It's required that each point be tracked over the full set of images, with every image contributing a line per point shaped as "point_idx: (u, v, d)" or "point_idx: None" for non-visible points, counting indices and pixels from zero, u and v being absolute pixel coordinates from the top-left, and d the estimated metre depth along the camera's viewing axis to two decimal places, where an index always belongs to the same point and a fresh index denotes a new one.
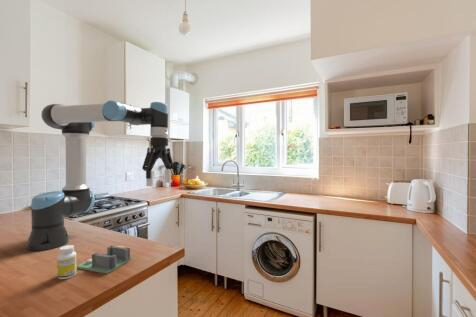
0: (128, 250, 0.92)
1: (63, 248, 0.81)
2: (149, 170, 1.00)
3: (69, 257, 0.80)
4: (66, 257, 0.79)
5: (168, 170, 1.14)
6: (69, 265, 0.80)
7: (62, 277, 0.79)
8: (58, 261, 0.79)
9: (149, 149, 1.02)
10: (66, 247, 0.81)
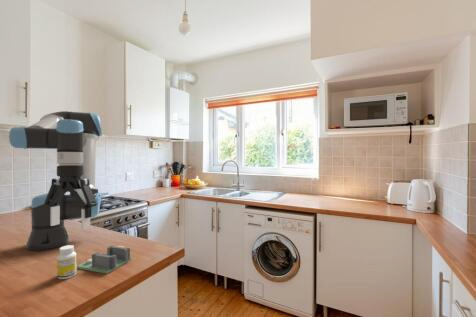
0: (128, 250, 0.92)
1: (63, 248, 0.81)
2: None
3: (69, 257, 0.80)
4: (66, 257, 0.79)
5: None
6: (69, 265, 0.80)
7: (62, 277, 0.79)
8: (58, 261, 0.79)
9: None
10: (66, 247, 0.81)
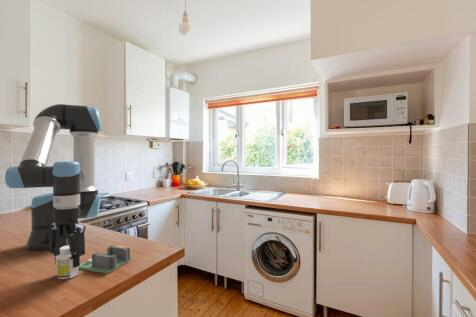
0: (128, 250, 0.92)
1: (63, 248, 0.81)
2: None
3: (69, 257, 0.80)
4: (66, 257, 0.79)
5: None
6: None
7: (62, 277, 0.79)
8: (58, 261, 0.79)
9: None
10: (66, 247, 0.81)
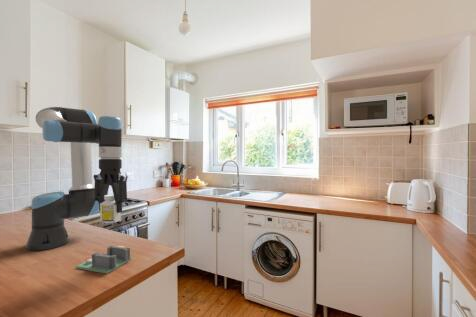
0: (128, 250, 0.92)
1: (107, 195, 0.88)
2: (99, 202, 0.90)
3: (113, 203, 0.88)
4: (110, 203, 0.87)
5: None
6: (113, 210, 0.88)
7: (107, 221, 0.87)
8: (103, 207, 0.87)
9: None
10: (109, 195, 0.89)
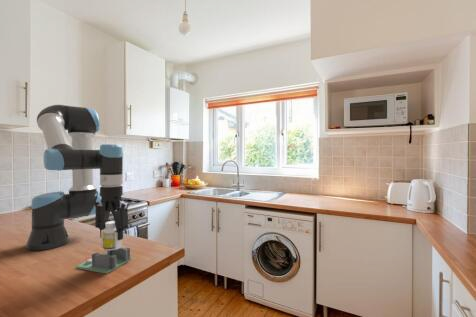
0: (128, 250, 0.92)
1: (108, 223, 0.89)
2: (100, 229, 0.90)
3: (114, 230, 0.88)
4: (111, 230, 0.88)
5: None
6: (114, 238, 0.88)
7: (108, 249, 0.87)
8: (105, 234, 0.87)
9: None
10: (111, 222, 0.90)
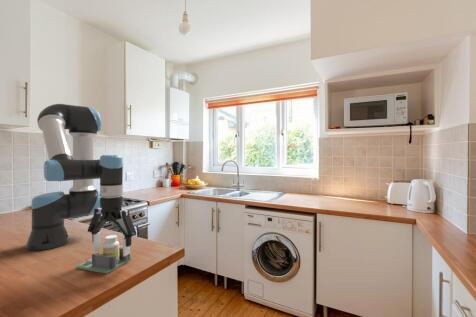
0: None
1: (108, 237, 0.89)
2: (92, 233, 0.91)
3: (114, 245, 0.88)
4: (111, 245, 0.88)
5: None
6: (114, 252, 0.88)
7: None
8: (104, 249, 0.87)
9: None
10: (110, 236, 0.90)
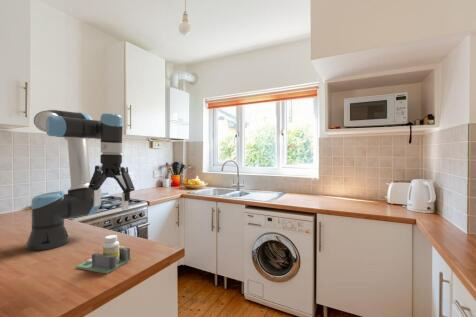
0: (128, 250, 0.92)
1: (108, 237, 0.89)
2: None
3: (114, 245, 0.88)
4: (111, 245, 0.88)
5: None
6: (114, 252, 0.88)
7: None
8: (104, 249, 0.88)
9: None
10: (110, 236, 0.90)
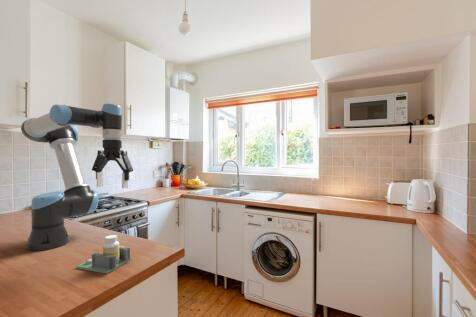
0: (128, 250, 0.92)
1: (108, 237, 0.89)
2: (95, 171, 1.08)
3: (114, 245, 0.88)
4: (111, 245, 0.88)
5: None
6: (114, 252, 0.88)
7: None
8: (104, 249, 0.88)
9: None
10: (110, 236, 0.90)
